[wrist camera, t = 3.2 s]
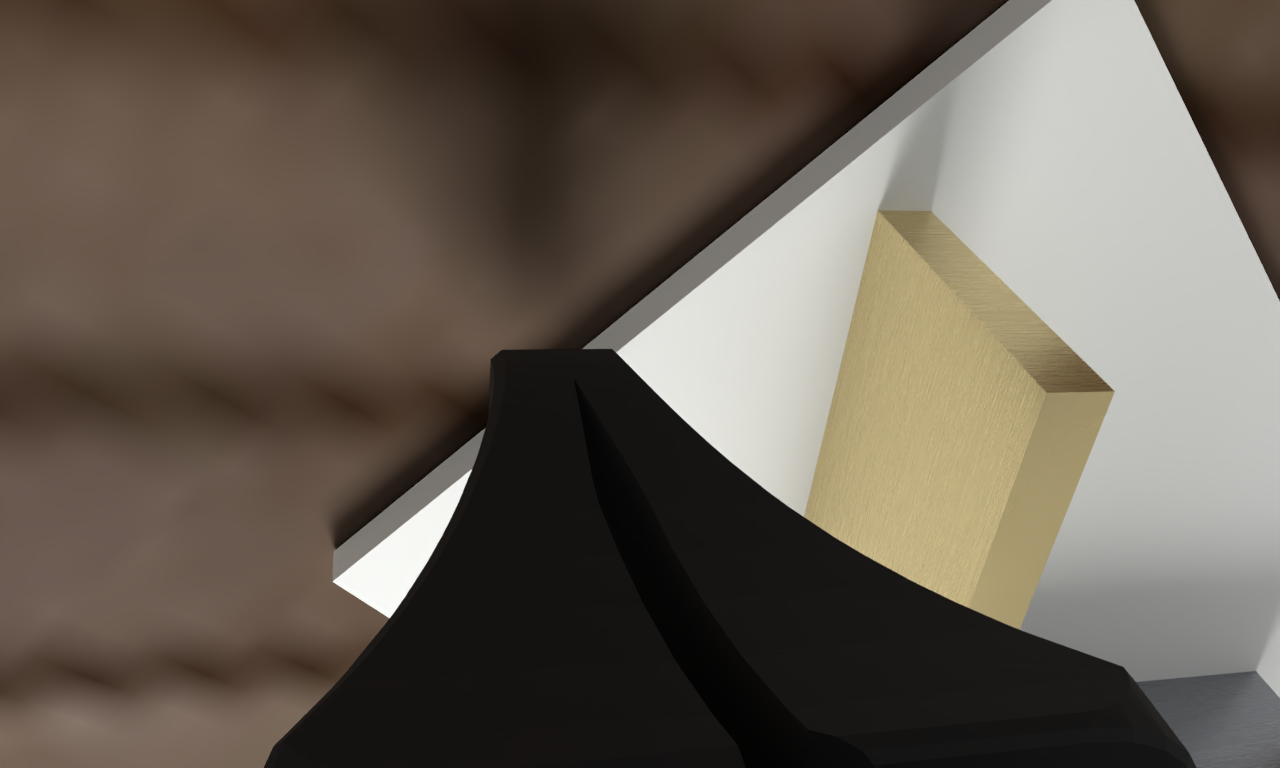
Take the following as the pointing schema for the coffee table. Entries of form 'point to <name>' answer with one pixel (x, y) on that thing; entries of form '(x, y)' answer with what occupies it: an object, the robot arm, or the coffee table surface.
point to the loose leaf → (952, 423)
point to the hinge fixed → (1221, 718)
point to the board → (1048, 284)
